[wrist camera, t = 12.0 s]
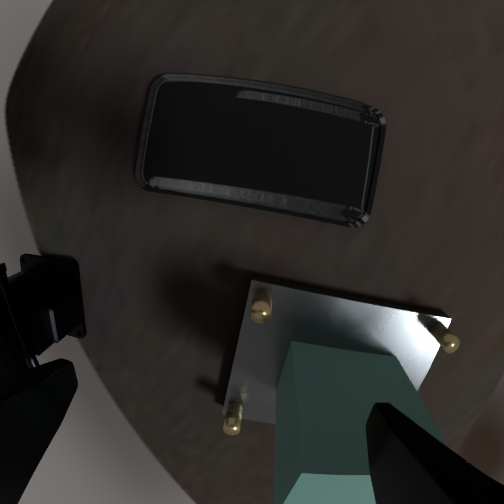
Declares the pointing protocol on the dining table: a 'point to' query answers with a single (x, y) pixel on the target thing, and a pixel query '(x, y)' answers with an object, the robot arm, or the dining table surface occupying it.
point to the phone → (261, 147)
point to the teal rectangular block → (334, 421)
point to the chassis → (321, 339)
